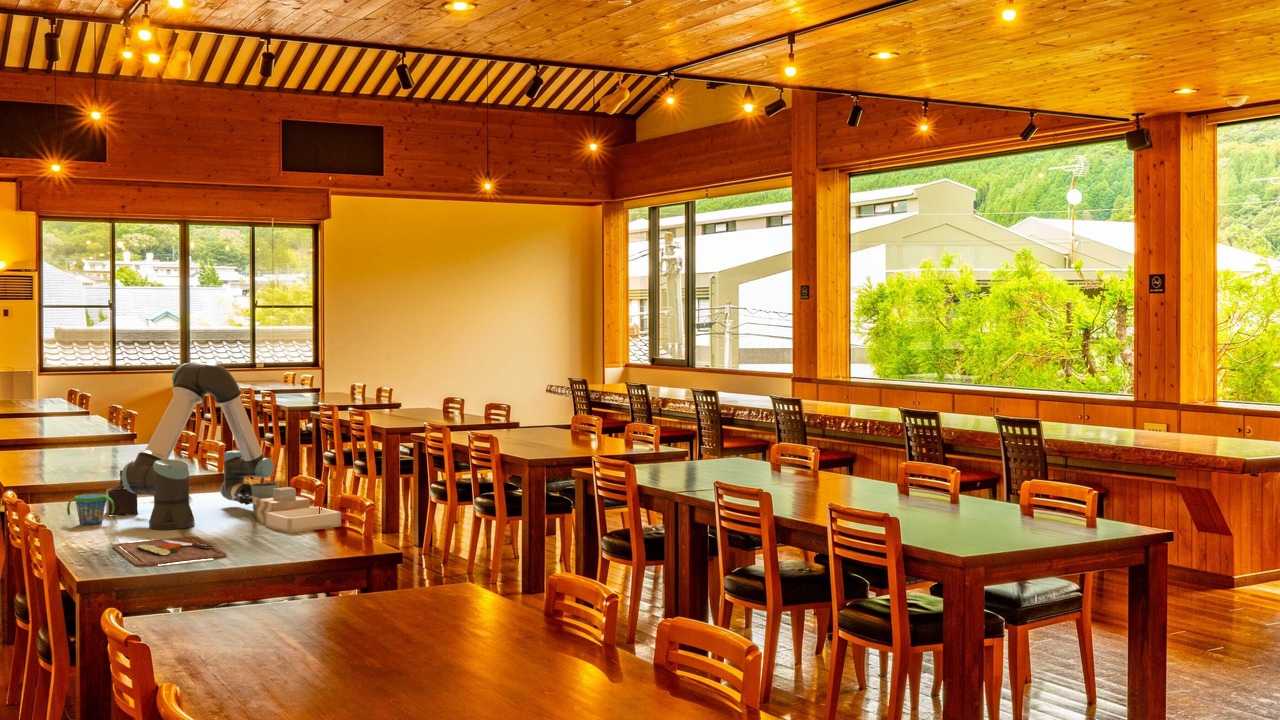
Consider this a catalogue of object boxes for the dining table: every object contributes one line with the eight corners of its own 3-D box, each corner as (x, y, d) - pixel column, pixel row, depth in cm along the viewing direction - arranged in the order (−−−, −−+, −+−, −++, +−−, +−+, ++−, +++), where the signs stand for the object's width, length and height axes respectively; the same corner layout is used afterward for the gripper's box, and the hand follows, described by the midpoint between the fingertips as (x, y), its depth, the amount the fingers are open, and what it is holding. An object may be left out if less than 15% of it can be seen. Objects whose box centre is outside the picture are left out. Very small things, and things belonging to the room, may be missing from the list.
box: (265, 526, 424) (265, 512, 424) (317, 520, 438) (317, 506, 438) (288, 533, 411) (288, 518, 411) (341, 526, 424) (341, 512, 424)
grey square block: (273, 499, 435) (272, 488, 435) (288, 497, 439) (288, 486, 439) (280, 501, 431) (280, 490, 431) (295, 499, 435) (295, 488, 435)
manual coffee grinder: (108, 516, 447) (107, 469, 446) (105, 512, 456) (104, 465, 456) (152, 513, 454) (152, 466, 454) (149, 509, 464) (148, 463, 463)
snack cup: (118, 520, 438) (117, 493, 437) (109, 525, 427) (108, 497, 427) (73, 521, 435) (72, 494, 435) (63, 526, 425) (62, 498, 425)
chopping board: (109, 547, 389) (109, 537, 389) (194, 538, 404) (194, 529, 404) (138, 570, 352) (138, 560, 352) (231, 560, 367) (231, 550, 367)
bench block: (256, 520, 437) (256, 499, 436) (292, 516, 446) (292, 495, 446) (273, 525, 426) (273, 503, 426) (309, 521, 436) (309, 499, 435)
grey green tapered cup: (270, 518, 441) (270, 486, 441) (245, 517, 443) (245, 485, 443) (284, 514, 451) (283, 482, 451) (259, 513, 453) (259, 481, 453)
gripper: (271, 500, 468) (298, 506, 451) (216, 506, 453) (241, 513, 437) (271, 481, 468) (297, 487, 451) (216, 486, 453) (241, 492, 436)
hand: (270, 499), depth 444 cm, fingers closed on grey green tapered cup, 9 cm apart
